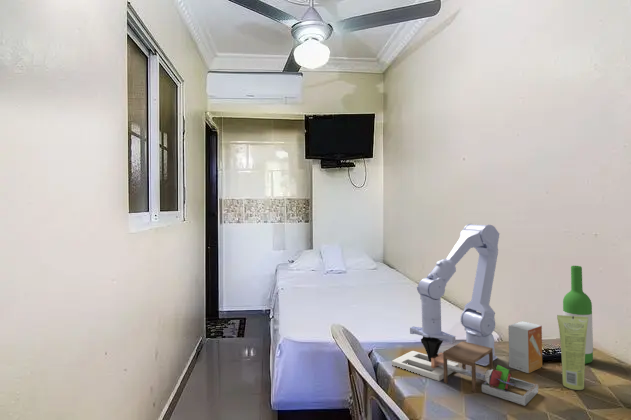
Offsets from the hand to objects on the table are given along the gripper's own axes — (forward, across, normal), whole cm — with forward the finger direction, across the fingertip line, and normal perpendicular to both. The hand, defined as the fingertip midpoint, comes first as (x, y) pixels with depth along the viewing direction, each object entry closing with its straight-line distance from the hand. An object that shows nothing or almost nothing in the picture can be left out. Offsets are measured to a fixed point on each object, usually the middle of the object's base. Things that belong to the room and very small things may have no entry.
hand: (432, 361), depth 122 cm
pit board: (+2, -3, 0) cm, 4 cm away
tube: (+3, +34, +16) cm, 37 cm away
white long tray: (+2, +15, 0) cm, 15 cm away
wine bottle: (+3, +30, +38) cm, 48 cm away
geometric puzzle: (+3, +20, 0) cm, 21 cm away
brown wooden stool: (+2, +12, 0) cm, 12 cm away
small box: (+3, +20, +20) cm, 29 cm away
